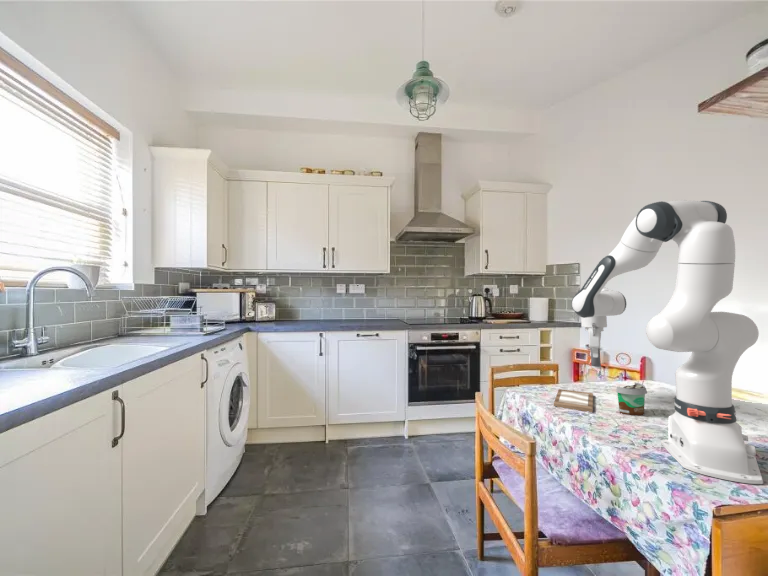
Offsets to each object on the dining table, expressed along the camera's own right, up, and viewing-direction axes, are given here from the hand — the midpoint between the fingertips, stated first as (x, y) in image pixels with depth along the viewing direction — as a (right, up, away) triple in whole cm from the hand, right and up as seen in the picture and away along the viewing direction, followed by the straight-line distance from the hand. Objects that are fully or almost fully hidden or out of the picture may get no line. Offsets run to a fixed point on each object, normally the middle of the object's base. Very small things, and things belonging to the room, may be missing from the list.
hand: (595, 356), depth 131 cm
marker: (0, -5, 0) cm, 5 cm away
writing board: (-8, -19, +1) cm, 21 cm away
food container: (+6, -18, -14) cm, 24 cm away
